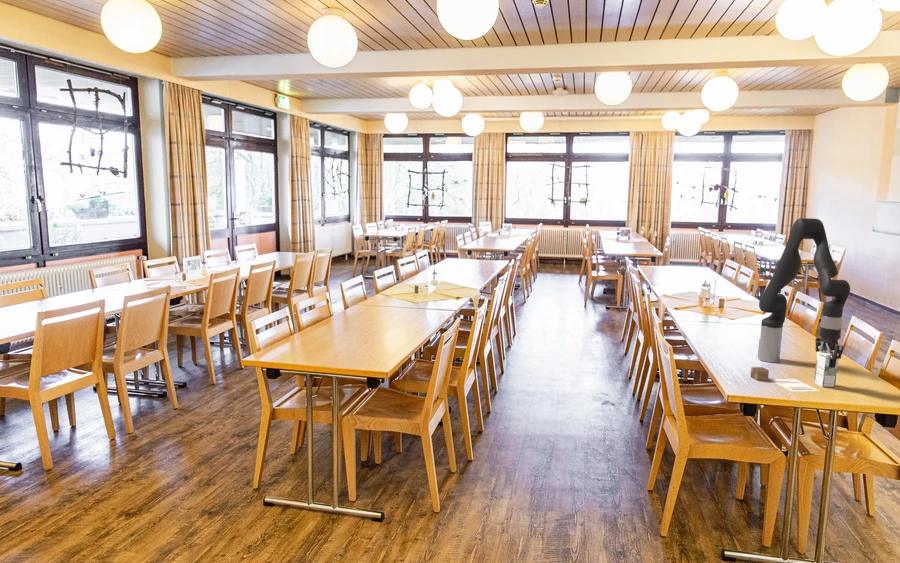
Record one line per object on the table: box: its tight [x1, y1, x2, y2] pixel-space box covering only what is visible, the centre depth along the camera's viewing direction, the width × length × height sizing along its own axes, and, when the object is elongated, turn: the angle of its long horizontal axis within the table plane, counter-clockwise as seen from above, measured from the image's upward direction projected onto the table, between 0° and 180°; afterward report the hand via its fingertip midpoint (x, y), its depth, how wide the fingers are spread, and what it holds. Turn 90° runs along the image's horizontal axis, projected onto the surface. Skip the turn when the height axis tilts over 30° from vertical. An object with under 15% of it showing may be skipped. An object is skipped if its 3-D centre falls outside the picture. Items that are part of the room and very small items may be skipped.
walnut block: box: [750, 366, 770, 382], centre depth 258 cm, size 5×5×5 cm
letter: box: [768, 378, 820, 393], centre depth 250 cm, size 16×12×1 cm
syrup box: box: [813, 351, 839, 388], centre depth 249 cm, size 6×6×14 cm
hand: (826, 365), depth 248 cm, fingers closed on syrup box, 6 cm apart
